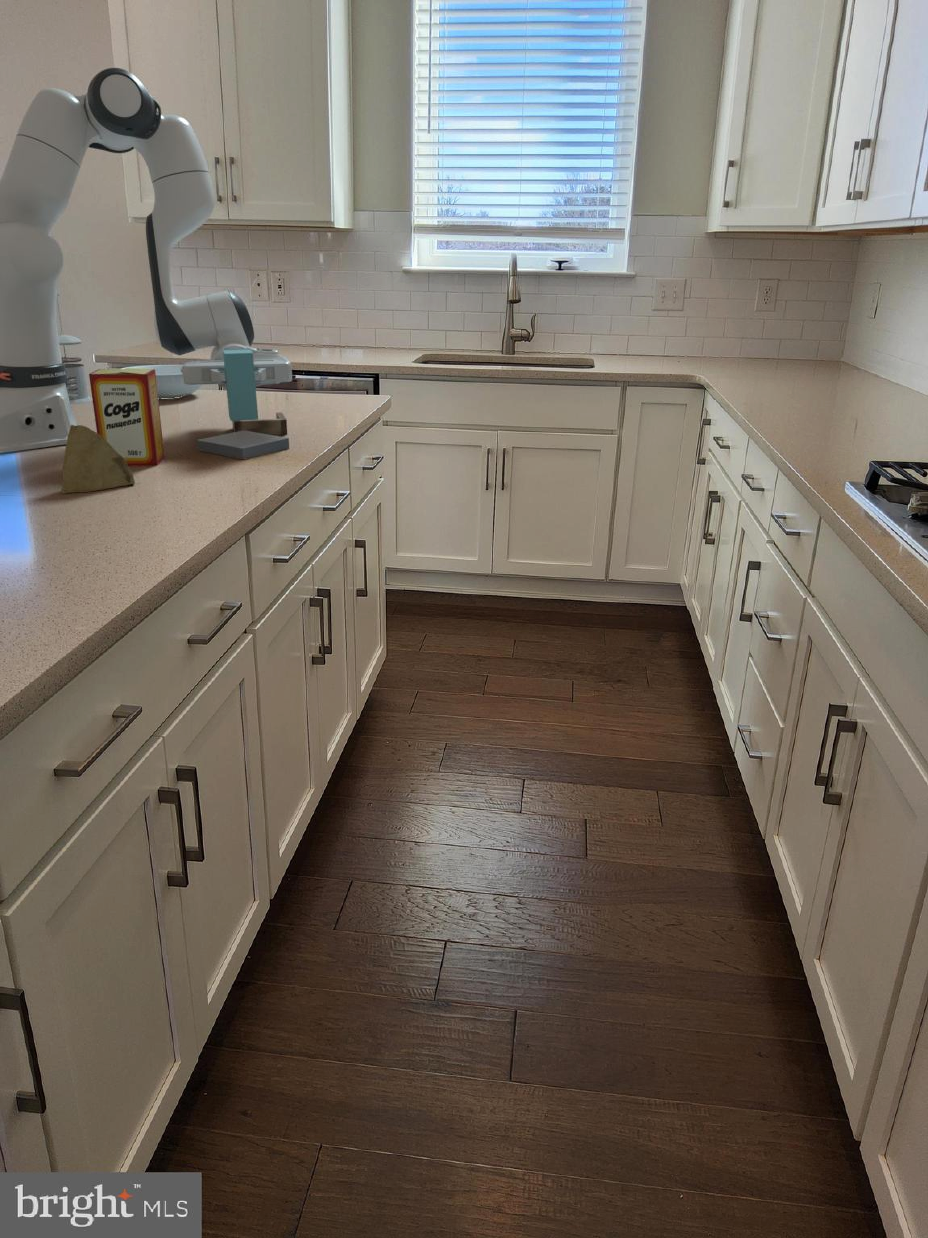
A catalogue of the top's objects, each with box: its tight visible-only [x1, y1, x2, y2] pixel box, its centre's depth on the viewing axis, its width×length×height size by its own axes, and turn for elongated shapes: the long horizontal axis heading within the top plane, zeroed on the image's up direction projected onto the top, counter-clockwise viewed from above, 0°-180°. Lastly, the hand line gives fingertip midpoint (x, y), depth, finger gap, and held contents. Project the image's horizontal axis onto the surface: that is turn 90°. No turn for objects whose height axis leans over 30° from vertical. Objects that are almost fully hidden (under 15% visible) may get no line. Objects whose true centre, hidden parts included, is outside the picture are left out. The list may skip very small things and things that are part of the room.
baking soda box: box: [88, 367, 165, 467], centre depth 159 cm, size 10×6×16 cm
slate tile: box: [196, 430, 290, 460], centre depth 172 cm, size 12×12×2 cm
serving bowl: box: [120, 364, 202, 399], centre depth 225 cm, size 21×21×7 cm
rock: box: [61, 424, 136, 495], centre depth 143 cm, size 11×9×10 cm
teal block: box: [223, 350, 259, 421], centre depth 168 cm, size 5×5×12 cm
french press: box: [57, 291, 93, 405], centre depth 214 cm, size 10×12×25 cm
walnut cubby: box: [231, 411, 288, 436], centre depth 188 cm, size 10×9×3 cm
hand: (240, 377), depth 167 cm, fingers closed on teal block, 5 cm apart
